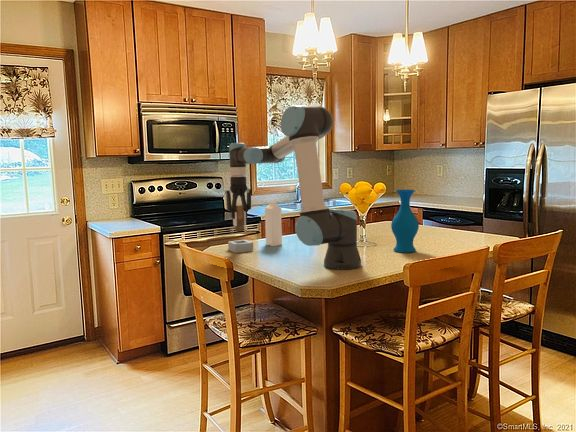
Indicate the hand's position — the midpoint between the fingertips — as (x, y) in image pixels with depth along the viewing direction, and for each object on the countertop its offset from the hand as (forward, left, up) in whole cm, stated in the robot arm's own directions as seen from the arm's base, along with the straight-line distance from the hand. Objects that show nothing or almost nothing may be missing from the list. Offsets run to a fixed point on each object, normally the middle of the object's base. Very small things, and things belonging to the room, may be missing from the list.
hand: (239, 225), depth 225 cm
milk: (+2, -20, -12) cm, 23 cm away
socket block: (0, 0, -12) cm, 12 cm away
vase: (-47, -62, -12) cm, 78 cm away
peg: (0, 0, -3) cm, 3 cm away
